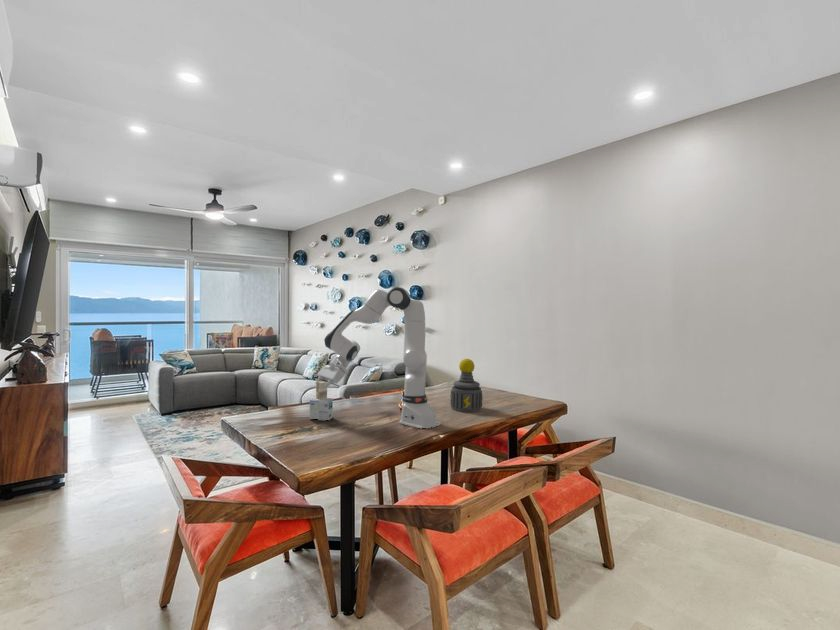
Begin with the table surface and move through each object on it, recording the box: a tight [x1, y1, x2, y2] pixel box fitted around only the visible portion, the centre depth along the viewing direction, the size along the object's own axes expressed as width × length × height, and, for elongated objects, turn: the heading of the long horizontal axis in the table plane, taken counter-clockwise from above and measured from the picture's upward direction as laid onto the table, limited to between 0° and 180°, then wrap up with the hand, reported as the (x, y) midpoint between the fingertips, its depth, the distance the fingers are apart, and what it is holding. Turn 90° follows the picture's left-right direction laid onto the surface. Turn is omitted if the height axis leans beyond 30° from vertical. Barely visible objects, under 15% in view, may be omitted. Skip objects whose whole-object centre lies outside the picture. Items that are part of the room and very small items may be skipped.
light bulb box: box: [309, 396, 334, 421], centre depth 224 cm, size 11×7×11 cm, turn 84°
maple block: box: [315, 380, 328, 400], centre depth 223 cm, size 5×4×9 cm
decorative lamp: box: [449, 358, 484, 413], centre depth 251 cm, size 19×19×30 cm
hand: (320, 385), depth 223 cm, fingers open, 8 cm apart
